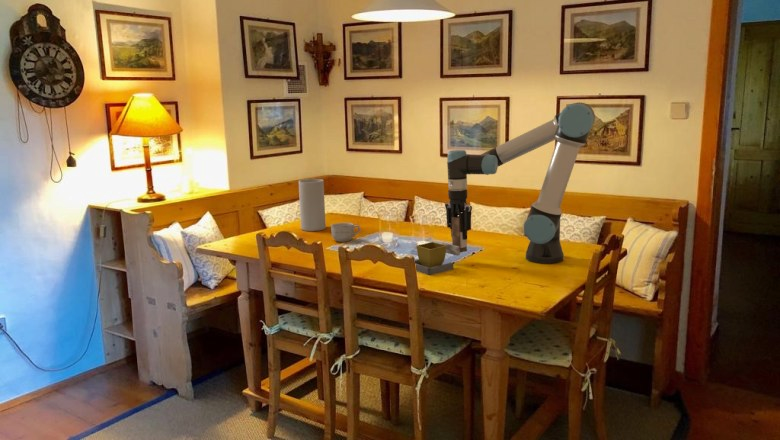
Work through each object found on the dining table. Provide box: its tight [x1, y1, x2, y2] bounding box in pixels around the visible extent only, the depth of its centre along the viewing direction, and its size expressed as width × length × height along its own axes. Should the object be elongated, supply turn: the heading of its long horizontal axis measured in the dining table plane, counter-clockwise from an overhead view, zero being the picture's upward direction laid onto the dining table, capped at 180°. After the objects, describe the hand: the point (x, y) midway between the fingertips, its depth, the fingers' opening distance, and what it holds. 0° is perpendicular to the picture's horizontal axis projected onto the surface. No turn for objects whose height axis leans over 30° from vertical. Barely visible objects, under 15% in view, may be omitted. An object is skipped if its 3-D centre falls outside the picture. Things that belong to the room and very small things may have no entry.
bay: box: [414, 258, 454, 276], centre depth 253 cm, size 14×12×2 cm
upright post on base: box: [441, 215, 468, 256], centre depth 258 cm, size 9×8×14 cm
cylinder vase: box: [298, 178, 327, 232], centre depth 327 cm, size 12×12×25 cm
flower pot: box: [416, 241, 447, 268], centre depth 254 cm, size 9×9×9 cm
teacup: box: [330, 222, 362, 243], centre depth 302 cm, size 14×11×8 cm
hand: (459, 246), depth 260 cm, fingers closed on upright post on base, 4 cm apart
